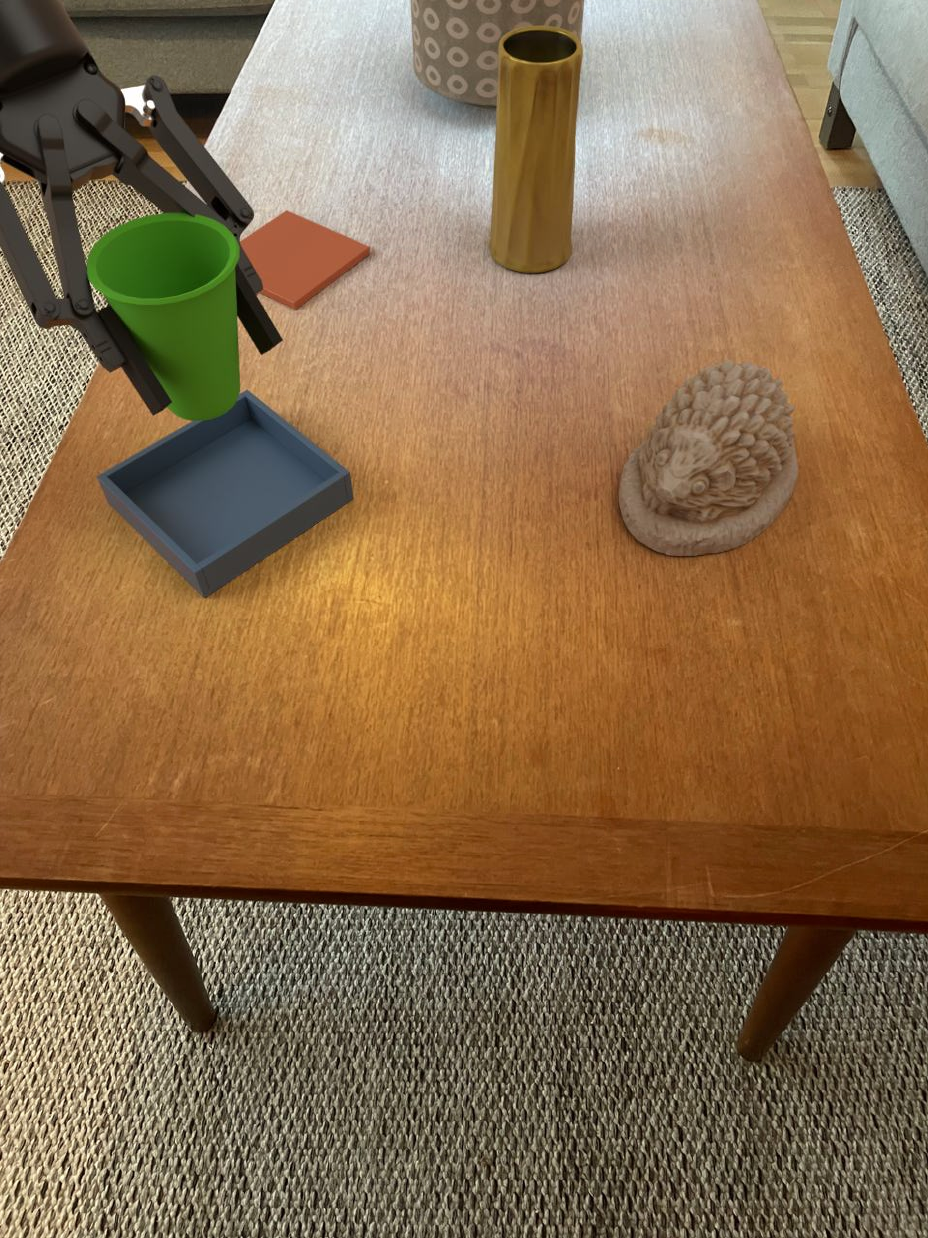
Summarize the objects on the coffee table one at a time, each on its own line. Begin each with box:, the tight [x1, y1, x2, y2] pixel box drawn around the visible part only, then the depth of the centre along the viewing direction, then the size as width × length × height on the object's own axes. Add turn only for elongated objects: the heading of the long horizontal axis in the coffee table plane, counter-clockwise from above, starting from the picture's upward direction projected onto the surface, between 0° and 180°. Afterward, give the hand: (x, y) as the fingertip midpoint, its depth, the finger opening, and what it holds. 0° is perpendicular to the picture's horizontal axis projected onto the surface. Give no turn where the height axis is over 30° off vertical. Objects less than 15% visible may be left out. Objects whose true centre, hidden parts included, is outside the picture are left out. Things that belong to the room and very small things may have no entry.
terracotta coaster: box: [240, 209, 371, 310], centre depth 96 cm, size 11×11×1 cm
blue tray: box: [96, 389, 355, 599], centre depth 76 cm, size 14×13×3 cm
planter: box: [410, 0, 585, 110], centre depth 109 cm, size 19×19×18 cm
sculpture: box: [618, 359, 800, 557], centre depth 74 cm, size 12×17×10 cm
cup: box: [86, 212, 241, 422], centre depth 63 cm, size 9×9×11 cm
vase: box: [488, 26, 584, 274], centre depth 89 cm, size 8×8×19 cm
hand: (218, 377), depth 63 cm, fingers closed on cup, 8 cm apart
